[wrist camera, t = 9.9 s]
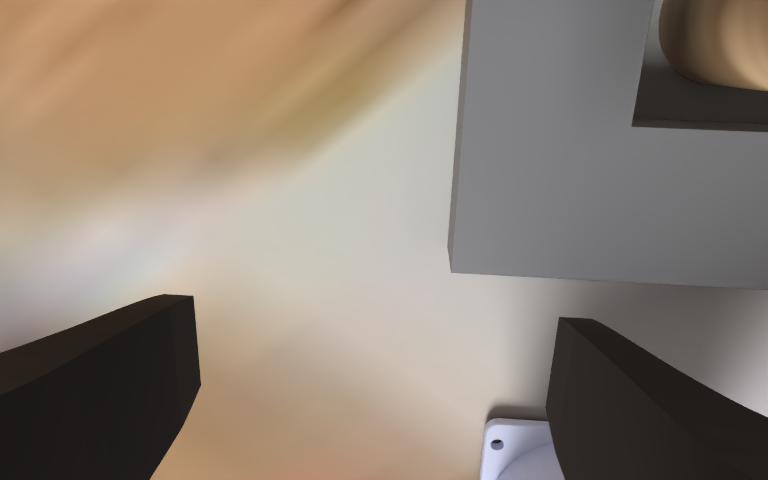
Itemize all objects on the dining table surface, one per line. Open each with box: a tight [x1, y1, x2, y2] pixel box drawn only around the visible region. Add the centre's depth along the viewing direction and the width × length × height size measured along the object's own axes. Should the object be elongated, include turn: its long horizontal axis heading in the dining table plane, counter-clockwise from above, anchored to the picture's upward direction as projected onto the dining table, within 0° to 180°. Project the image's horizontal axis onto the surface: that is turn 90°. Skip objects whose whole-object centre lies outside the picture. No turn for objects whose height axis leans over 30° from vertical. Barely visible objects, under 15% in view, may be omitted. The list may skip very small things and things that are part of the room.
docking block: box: [448, 0, 768, 290], centre depth 16 cm, size 16×16×2 cm
